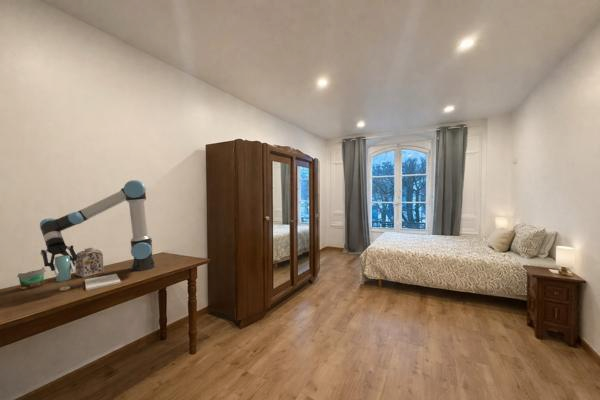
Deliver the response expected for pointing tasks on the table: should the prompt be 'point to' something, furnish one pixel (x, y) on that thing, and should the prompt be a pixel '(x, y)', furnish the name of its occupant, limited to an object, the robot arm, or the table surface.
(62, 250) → the robot arm
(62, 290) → the beige mottled disc
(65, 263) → the teal canister
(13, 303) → the table surface
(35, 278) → the food container
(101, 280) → the pale board
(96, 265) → the decorative jar
